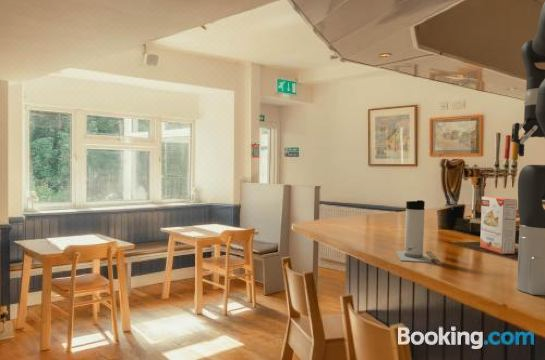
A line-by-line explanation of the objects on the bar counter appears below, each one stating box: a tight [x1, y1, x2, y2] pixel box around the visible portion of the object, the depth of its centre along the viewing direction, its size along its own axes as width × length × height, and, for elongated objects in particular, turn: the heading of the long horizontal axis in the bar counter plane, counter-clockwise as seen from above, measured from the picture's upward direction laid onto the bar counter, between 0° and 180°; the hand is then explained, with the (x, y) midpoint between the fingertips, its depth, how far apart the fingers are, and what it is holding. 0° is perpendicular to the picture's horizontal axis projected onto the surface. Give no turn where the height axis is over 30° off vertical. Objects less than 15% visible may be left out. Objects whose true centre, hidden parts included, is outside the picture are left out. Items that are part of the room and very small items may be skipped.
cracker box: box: [479, 195, 518, 255], centre depth 178 cm, size 14×6×21 cm, turn 8°
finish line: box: [425, 250, 443, 266], centre depth 160 cm, size 22×2×1 cm, turn 170°
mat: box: [395, 250, 433, 264], centre depth 161 cm, size 16×10×1 cm, turn 170°
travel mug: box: [403, 199, 426, 258], centre depth 161 cm, size 6×7×20 cm
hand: (536, 156), depth 143 cm, fingers open, 8 cm apart
